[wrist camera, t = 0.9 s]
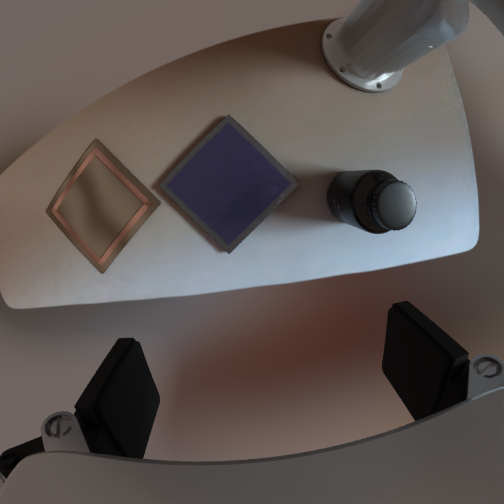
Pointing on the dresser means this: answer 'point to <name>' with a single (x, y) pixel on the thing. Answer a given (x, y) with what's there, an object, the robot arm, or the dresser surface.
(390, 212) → the supplement bottle
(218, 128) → the ink pad
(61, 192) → the marked board
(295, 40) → the dresser surface
